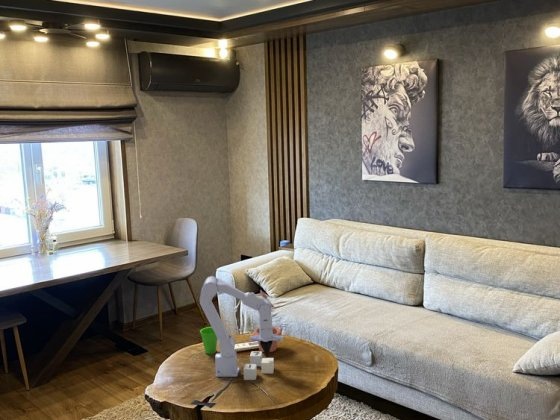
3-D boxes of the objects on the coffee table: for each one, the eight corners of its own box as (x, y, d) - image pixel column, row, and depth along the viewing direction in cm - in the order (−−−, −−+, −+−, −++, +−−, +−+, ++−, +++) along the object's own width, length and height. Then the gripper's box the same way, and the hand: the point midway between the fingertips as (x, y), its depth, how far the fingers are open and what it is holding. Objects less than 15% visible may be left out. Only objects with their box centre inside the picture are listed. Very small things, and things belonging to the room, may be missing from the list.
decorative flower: (286, 353, 269) (284, 293, 263) (258, 358, 265) (255, 297, 260) (278, 341, 283) (275, 284, 278) (251, 345, 280) (248, 287, 274)
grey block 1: (244, 380, 245) (243, 369, 244) (245, 374, 250) (245, 363, 249) (255, 380, 245) (254, 369, 244) (257, 374, 249) (256, 363, 249)
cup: (199, 349, 278) (198, 328, 276) (218, 346, 280) (216, 325, 278) (203, 357, 269) (201, 335, 267) (221, 353, 272) (220, 332, 270)
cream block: (261, 373, 250) (261, 362, 249) (263, 368, 255) (262, 358, 254) (273, 373, 250) (272, 362, 249) (274, 368, 255) (273, 357, 254)
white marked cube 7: (250, 366, 258) (249, 355, 257) (251, 361, 263) (251, 351, 262) (261, 366, 257) (260, 355, 256) (262, 361, 262) (262, 351, 261)
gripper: (248, 330, 246) (249, 360, 248) (281, 330, 244) (282, 360, 247) (250, 324, 252) (252, 353, 255) (282, 324, 251) (284, 353, 254)
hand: (267, 356), depth 251 cm, fingers closed
